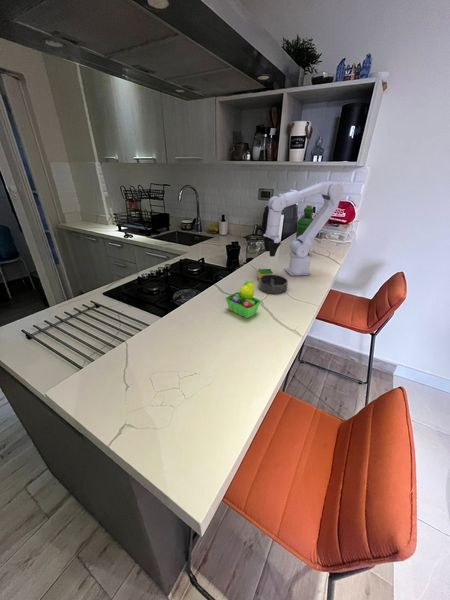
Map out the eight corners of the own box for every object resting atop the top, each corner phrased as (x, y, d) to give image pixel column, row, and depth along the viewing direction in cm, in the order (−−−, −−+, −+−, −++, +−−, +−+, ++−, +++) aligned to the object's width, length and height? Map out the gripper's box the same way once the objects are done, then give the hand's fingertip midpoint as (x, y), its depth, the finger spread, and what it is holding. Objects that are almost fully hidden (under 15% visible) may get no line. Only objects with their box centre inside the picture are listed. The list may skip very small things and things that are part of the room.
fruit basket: (224, 309, 96) (224, 282, 91) (239, 301, 102) (240, 275, 97) (247, 321, 90) (249, 292, 84) (262, 312, 95) (265, 284, 90)
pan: (281, 281, 120) (282, 274, 118) (290, 293, 109) (292, 285, 107) (255, 282, 118) (256, 275, 116) (263, 294, 108) (263, 286, 106)
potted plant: (312, 257, 151) (322, 207, 138) (294, 256, 151) (302, 206, 138) (307, 251, 161) (316, 204, 147) (290, 251, 161) (297, 203, 147)
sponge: (258, 277, 124) (258, 269, 121) (269, 277, 124) (270, 268, 122) (259, 281, 120) (260, 272, 118) (271, 280, 121) (272, 272, 118)
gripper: (260, 221, 122) (257, 249, 129) (269, 228, 110) (265, 258, 116) (274, 221, 123) (271, 249, 130) (285, 228, 111) (280, 258, 117)
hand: (269, 253), depth 123 cm, fingers open, 7 cm apart
